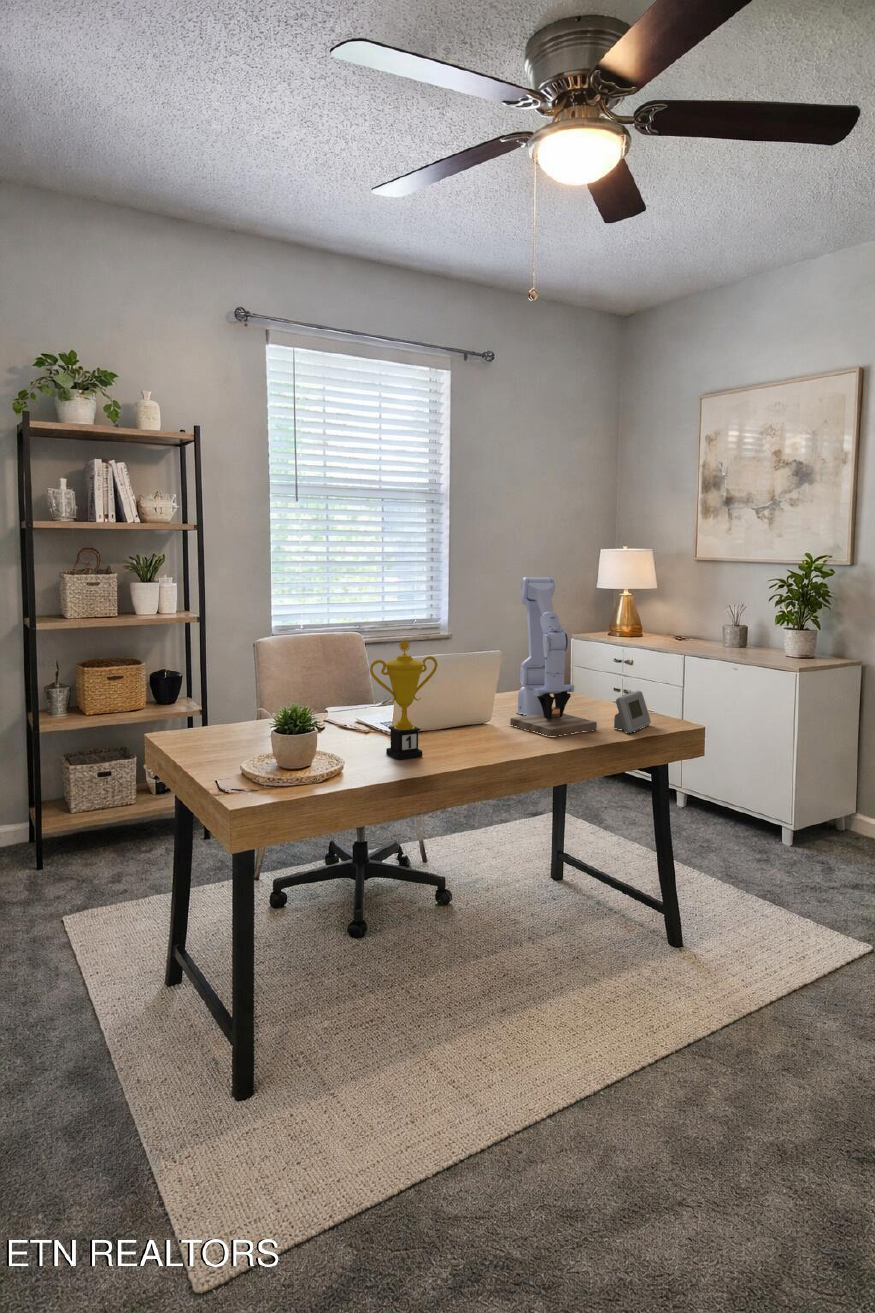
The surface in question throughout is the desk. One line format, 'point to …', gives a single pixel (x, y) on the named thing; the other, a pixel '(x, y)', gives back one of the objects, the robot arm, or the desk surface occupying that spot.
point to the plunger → (555, 712)
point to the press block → (553, 724)
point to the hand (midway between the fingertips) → (553, 717)
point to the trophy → (404, 700)
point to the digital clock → (631, 712)
